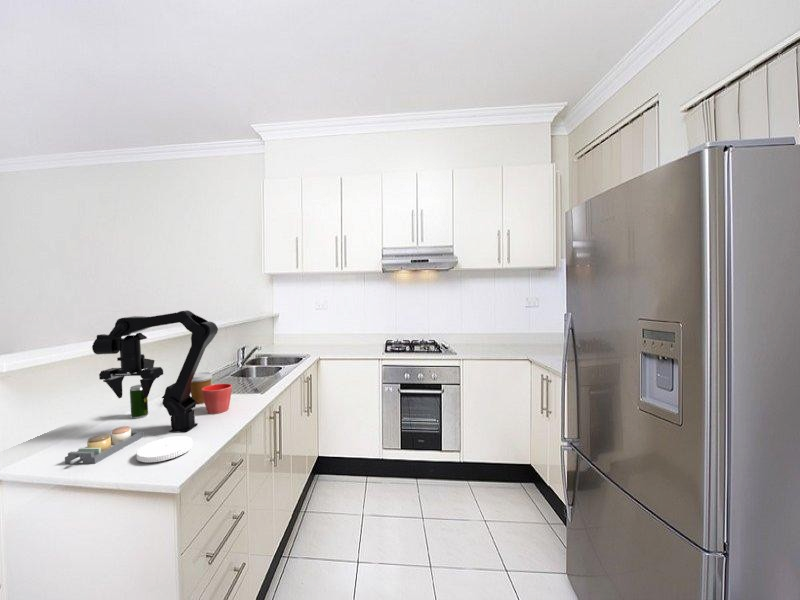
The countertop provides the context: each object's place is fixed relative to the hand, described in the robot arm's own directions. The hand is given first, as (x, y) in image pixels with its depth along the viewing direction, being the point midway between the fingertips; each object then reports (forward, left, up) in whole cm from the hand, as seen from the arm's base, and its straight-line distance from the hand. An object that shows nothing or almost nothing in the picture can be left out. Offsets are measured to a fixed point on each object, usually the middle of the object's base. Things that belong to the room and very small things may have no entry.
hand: (133, 397), depth 123 cm
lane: (-2, +13, -12) cm, 18 cm away
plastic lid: (-23, +16, -12) cm, 30 cm away
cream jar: (-2, +8, -12) cm, 14 cm away
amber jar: (-2, +16, -12) cm, 20 cm away
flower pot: (-18, -20, -12) cm, 30 cm away
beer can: (+10, -14, -12) cm, 21 cm away
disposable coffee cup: (-4, -31, -12) cm, 34 cm away
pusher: (-2, +22, -12) cm, 25 cm away
